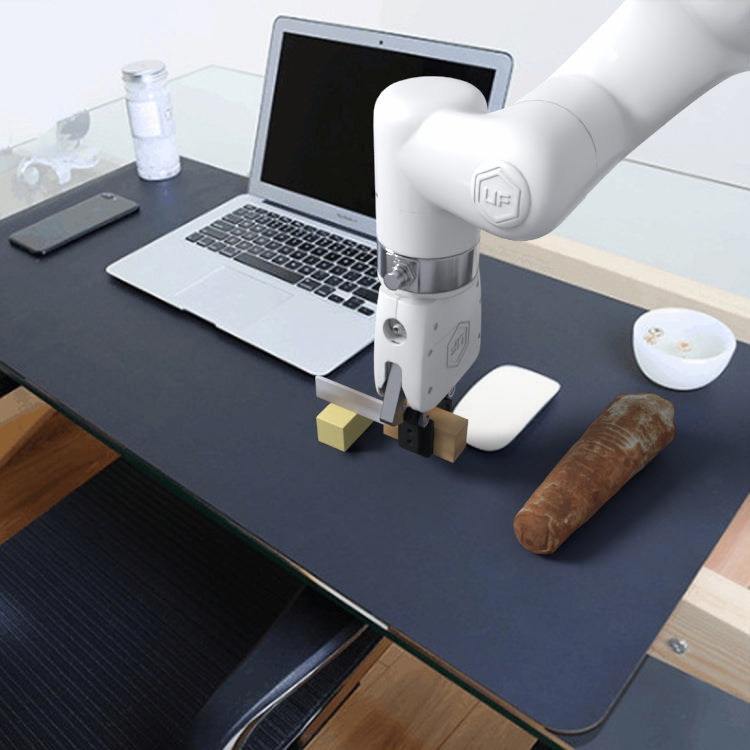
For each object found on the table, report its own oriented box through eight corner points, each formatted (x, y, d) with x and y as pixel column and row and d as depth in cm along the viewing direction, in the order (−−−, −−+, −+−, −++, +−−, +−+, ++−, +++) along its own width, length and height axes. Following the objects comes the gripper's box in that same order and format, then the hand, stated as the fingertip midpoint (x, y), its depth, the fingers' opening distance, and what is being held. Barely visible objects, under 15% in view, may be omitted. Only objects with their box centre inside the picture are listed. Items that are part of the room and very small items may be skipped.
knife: (310, 402, 74) (308, 375, 72) (324, 388, 76) (323, 362, 73) (453, 463, 68) (455, 435, 66) (466, 446, 69) (468, 419, 67)
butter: (347, 411, 78) (346, 387, 76) (373, 421, 76) (373, 397, 74) (318, 441, 74) (315, 416, 72) (344, 452, 73) (343, 428, 71)
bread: (674, 452, 72) (688, 405, 69) (550, 575, 62) (559, 527, 58) (613, 420, 76) (623, 374, 72) (486, 531, 65) (491, 484, 62)
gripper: (417, 324, 52) (415, 516, 63) (520, 223, 62) (502, 403, 74) (323, 293, 55) (337, 481, 66) (435, 202, 65) (431, 378, 77)
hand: (424, 438), depth 70 cm, fingers closed on knife, 2 cm apart
